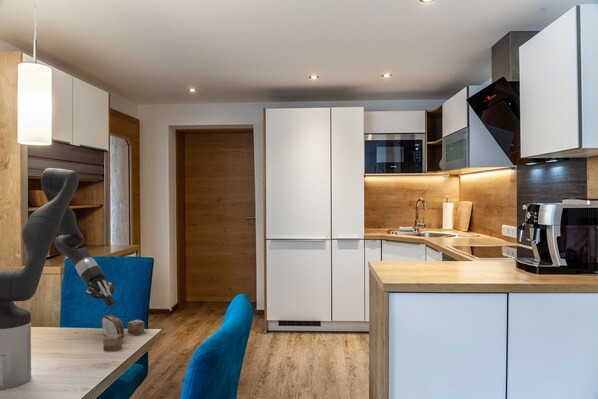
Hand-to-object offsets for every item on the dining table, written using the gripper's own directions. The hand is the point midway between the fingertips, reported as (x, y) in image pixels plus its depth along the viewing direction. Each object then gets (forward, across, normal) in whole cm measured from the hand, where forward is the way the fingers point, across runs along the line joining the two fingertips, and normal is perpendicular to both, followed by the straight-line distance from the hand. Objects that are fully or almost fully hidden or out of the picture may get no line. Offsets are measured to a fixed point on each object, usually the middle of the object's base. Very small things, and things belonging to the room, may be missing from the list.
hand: (112, 305), depth 156 cm
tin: (+9, 0, +9) cm, 13 cm away
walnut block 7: (+12, +8, +6) cm, 16 cm away
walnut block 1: (+16, -8, +3) cm, 18 cm away
